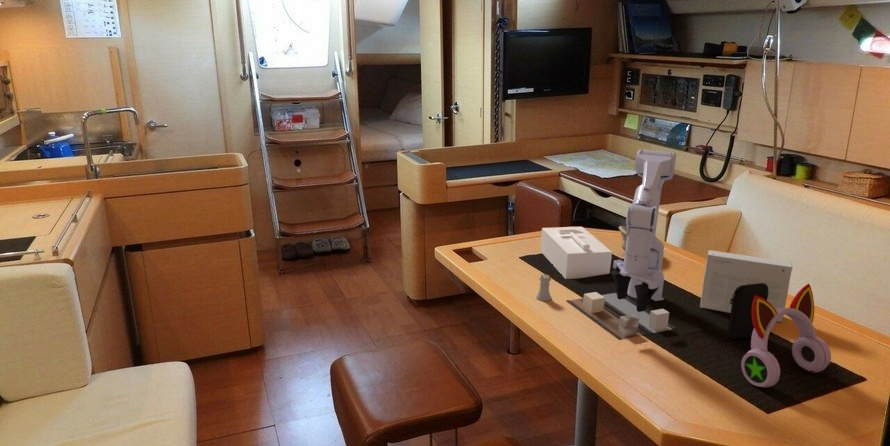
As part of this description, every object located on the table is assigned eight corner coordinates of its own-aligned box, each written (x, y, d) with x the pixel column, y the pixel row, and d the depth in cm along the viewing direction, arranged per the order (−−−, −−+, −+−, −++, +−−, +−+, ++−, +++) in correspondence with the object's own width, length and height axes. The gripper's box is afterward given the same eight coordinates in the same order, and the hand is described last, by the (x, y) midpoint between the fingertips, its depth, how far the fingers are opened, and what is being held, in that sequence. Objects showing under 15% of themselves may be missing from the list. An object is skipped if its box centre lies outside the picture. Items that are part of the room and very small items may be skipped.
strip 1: (587, 300, 181) (588, 282, 180) (641, 338, 160) (644, 318, 159) (569, 303, 179) (570, 285, 177) (622, 342, 158) (624, 322, 156)
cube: (594, 305, 176) (596, 291, 175) (603, 311, 173) (604, 297, 172) (582, 307, 175) (583, 293, 174) (591, 313, 171) (592, 299, 170)
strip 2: (614, 296, 185) (616, 278, 183) (671, 332, 164) (674, 313, 162) (597, 299, 183) (599, 281, 181) (653, 336, 162) (655, 316, 160)
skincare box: (781, 315, 176) (792, 261, 171) (782, 323, 171) (793, 268, 166) (700, 300, 184) (708, 248, 179) (699, 307, 179) (707, 254, 174)
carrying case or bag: (728, 342, 160) (737, 288, 155) (719, 337, 162) (729, 284, 158) (763, 337, 163) (773, 284, 158) (754, 332, 165) (764, 280, 161)
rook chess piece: (551, 305, 178) (553, 279, 176) (534, 304, 179) (536, 278, 176) (551, 299, 182) (553, 273, 180) (536, 297, 183) (537, 272, 181)
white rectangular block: (579, 250, 223) (582, 220, 220) (609, 277, 200) (612, 244, 196) (540, 251, 220) (542, 221, 217) (565, 279, 197) (568, 246, 194)
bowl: (664, 263, 211) (668, 235, 208) (621, 262, 211) (625, 234, 208) (650, 248, 225) (654, 221, 222) (611, 247, 225) (614, 220, 222)
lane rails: (617, 296, 185) (618, 291, 185) (675, 332, 164) (675, 327, 164) (565, 304, 179) (566, 300, 178) (618, 344, 158) (619, 339, 157)
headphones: (768, 396, 137) (785, 312, 131) (731, 373, 146) (746, 293, 139) (829, 377, 145) (847, 296, 139) (790, 357, 154) (806, 280, 147)
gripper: (605, 245, 159) (600, 295, 163) (643, 265, 146) (636, 319, 150) (628, 242, 161) (622, 291, 166) (667, 262, 149) (660, 314, 153)
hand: (631, 304), depth 158 cm, fingers open, 7 cm apart
